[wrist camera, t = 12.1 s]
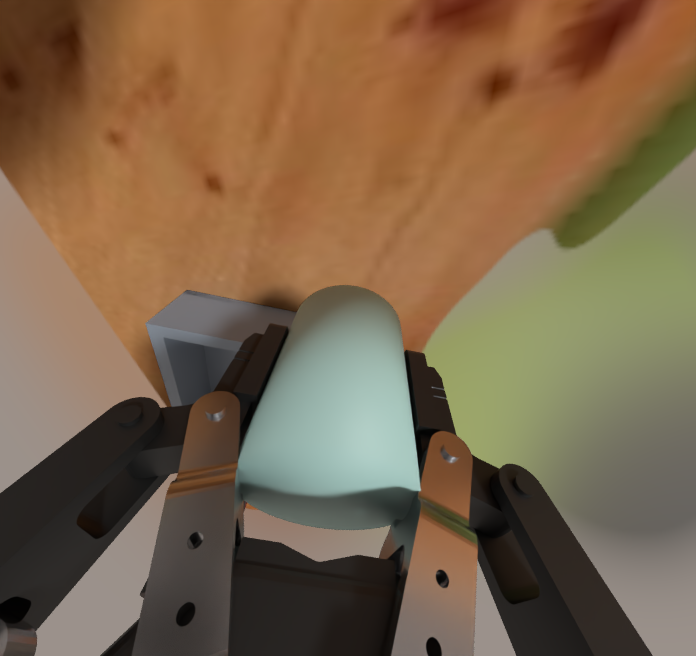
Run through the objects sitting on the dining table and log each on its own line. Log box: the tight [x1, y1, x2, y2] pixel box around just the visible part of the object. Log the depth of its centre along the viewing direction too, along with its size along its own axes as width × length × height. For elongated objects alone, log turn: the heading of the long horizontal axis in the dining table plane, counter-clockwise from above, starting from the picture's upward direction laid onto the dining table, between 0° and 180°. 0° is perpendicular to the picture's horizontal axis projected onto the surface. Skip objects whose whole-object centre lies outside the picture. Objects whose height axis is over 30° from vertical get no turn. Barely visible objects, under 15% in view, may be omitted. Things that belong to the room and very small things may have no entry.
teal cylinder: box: [238, 285, 421, 530], centre depth 10 cm, size 5×5×7 cm
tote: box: [146, 290, 297, 407], centre depth 26 cm, size 18×14×5 cm
